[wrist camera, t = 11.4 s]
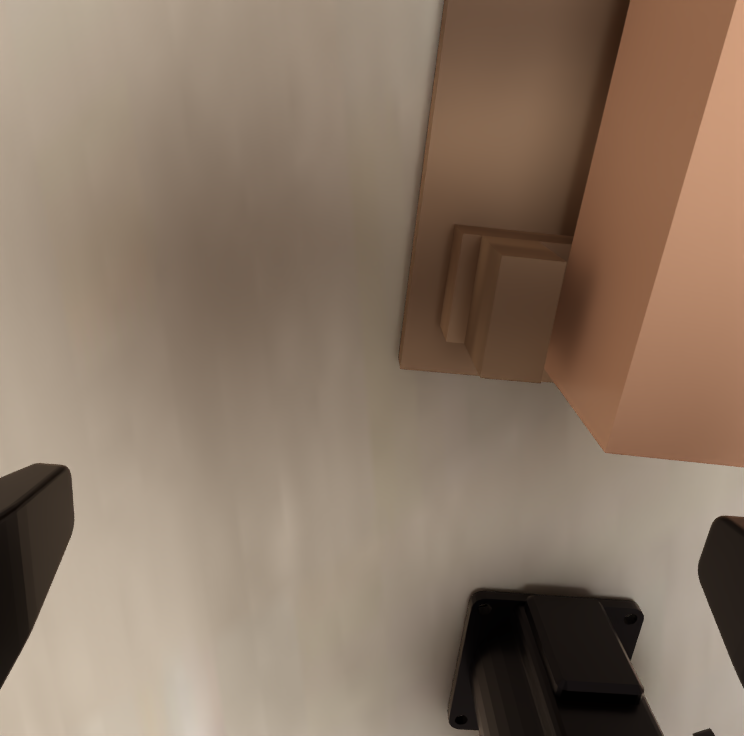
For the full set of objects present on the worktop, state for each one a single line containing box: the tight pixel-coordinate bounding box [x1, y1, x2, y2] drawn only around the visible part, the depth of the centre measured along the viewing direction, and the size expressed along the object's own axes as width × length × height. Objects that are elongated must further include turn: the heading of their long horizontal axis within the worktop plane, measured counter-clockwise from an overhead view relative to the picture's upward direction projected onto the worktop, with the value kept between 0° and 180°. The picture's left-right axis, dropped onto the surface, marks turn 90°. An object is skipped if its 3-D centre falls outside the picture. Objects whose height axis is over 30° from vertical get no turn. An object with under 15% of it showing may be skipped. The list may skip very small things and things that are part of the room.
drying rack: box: [398, 0, 630, 383], centre depth 16 cm, size 18×12×5 cm, turn 174°
